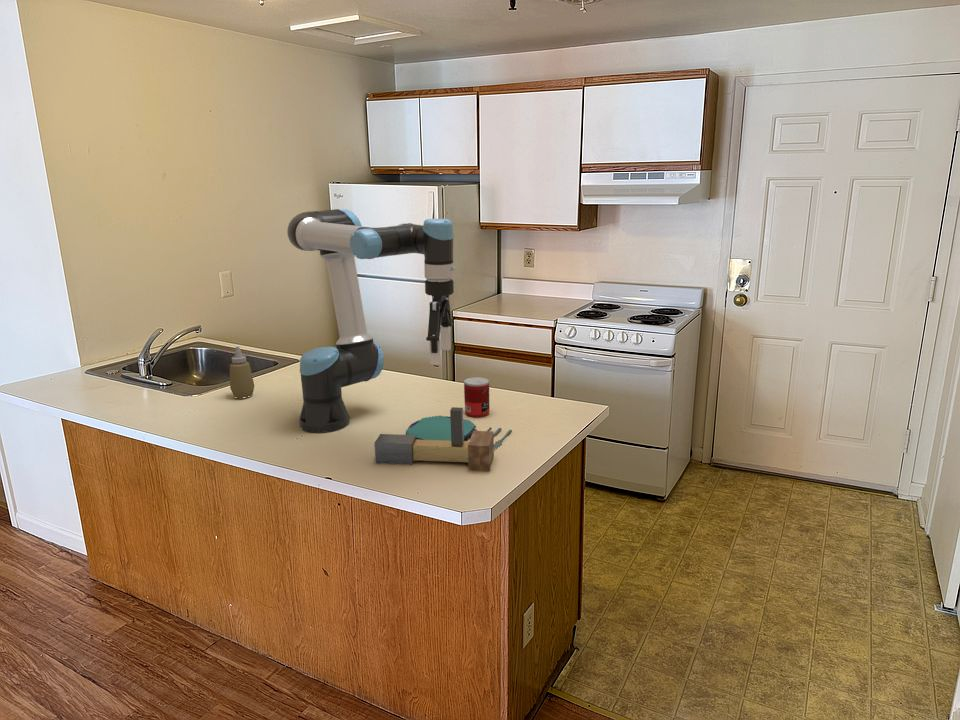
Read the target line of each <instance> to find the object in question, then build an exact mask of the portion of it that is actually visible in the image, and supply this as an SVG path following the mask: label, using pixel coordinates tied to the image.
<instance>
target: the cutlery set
mask: <svg viewBox="0 0 960 720" xmlns="http://www.w3.org/2000/svg"><path fill="white" fill-rule="evenodd" d="M463 425H464V440H465V439H467V438H469V437H471V436H472V433H473V431H475V428H477V426H476V424H475V423H474V422H472V421H471V420H469V419H464V418H463ZM491 429H492V427H491V426H490V427H489V428H488V429H487V430H486V431H491ZM501 431H502V428H501V427H498V428H497V429H496V430H495V432H494V437H495V436H497V434H499V432H501ZM512 431H513V430H512V429H508V431H507V432H506V433H505V434H504V436H503V437H502V438H501V439H498V441H496V440H495V442H494V452H495V451H496V450H497V449H498V447H499V448H500V447H501V446H502V445H503V443H502V442H504V441H505V440H506V439H505V438H506V437H507V436H508V437H509V436H510V434H511V432H512ZM405 435H416V440H445V441H451V419H450V416H446V415H433V416H425V417H422V418H420V419H418V420H416V421H415V422H412V423H411V424H410V425H409V426H408V428H406V431H405ZM508 437H507V438H508ZM504 439H505V440H504ZM503 440H504V441H503Z"/></svg>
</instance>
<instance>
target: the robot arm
mask: <svg viewBox="0 0 960 720" xmlns="http://www.w3.org/2000/svg"><path fill="white" fill-rule="evenodd" d="M287 238H288V240H289V242H290V243H291V245H292V246H293V247H295V249H298V250H300V251H304V252H305V251H307V252H315V251H319V256H320V258H322V259H324V261H326V266H327V272H328V278H329V283H330V288H331V289H330V290H331V294H332V299H333V300H332V301H333V306H334V311H335V318H336V323H337V328H338V336H339V338H338V340H337V341H336V342H335V345H336V347H335V346H323V347H321V346H319V347H315V348H312V349H310V350H307V351H305V352H304V353H303V354H302V355H301V357H300V360H299V374H300V380H301V381H300V382H301V389H302V399H303V402H302V406H301V411H300V414H299V422H298V423H299V427H301V428H302V429H303V430H302V429H301V428H300V429H301V430H302V431H305V430H306V431H305V432H308V431H310V433H328V432H335V431H338V430H341V429H344V428H345V427H347V426H349V424H350V414H349V412H348V410H347V409H348V408H347V406H346V404H345V402H344V399H343V394H342V388H345V387H349V386H352V385H355V384H358V383H363V382H369V381H370V380H373V379H376V378H377V377H378V376H380V374H381V373H382V371H383V369H384V365H385V359H384V358H385V356H384V352H383V349H382V348H381V346H380V345H379V344H378V343H377V342H375V341H374V338H373V336H372V335H370V334H369V333H368V329H367V325H366V319H365V314H364V307H363V306H364V305H363V302H362V296H361V289H360V284H359V279H358V277H359V276H358V272H357V265H356V261H355V260H356V259H355V258H357V259H358V260H374V259H376V258H378V259H379V258H384V257H385V258H386V257H391V256H393V257H394V256H401V255H407V254H408V255H409V254H419V255H423V256H424V260H423V261H424V262H423V263H424V266H423V267H424V278H425V280H424V293H425V294H426V295H427V296H431V297H432V301H429V312H428V313H429V314H428V325H427V326H428V328H427V337H425V340H426V341H427V342H429V364H430V365H435V366H437V365H441V363H442V361H441V360H442V359H441V358H442V356H441V355H442V354H441V353H442V351H451V347H452V346H451V327H453V326H454V322H452V321H453V319H452V314H451V313H452V312H451V305H450V296H451V295H453V294H454V288H455V286H454V285H455V283H454V280H453V278H454V271H456V269H457V268H456V266H454V229H453V222H452V221H451V220H450V219H449V218H448V219H447V218H427V219H425V220H424V221H423V225H422V224H421V225H420V224H415V223H411V222H408V223H405V222H403V223H400V224H398V225H391V226H382V227H369V226H368V227H367V226H363V225H362V223H361V221H360V219H359V217H358V216H357V215H356V214H355V212H353V211H352V210H349V209H339V208H337V209H336V208H335V209H326V210H315V211H314V210H313V211H312V210H311V211H305V212H301V213H298V214H296V215H294V217H293V218H292V219H290V222H289V223H288V226H287Z"/></svg>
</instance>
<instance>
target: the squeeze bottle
mask: <svg viewBox="0 0 960 720" xmlns="http://www.w3.org/2000/svg"><path fill="white" fill-rule="evenodd" d="M241 350H242V349H241V347H240V346H235V352H234V356H233V357H231V364H230V365H229V385H230V387H229V388H230V390H231V393H232V395H233V397H234V398H235V397H237V398H243V397H248V396H251V395H252V394H254V390H255V383H254V379H253V374H252V373H253V372H252V368H251V365H250V362H248V361H247V356H245V355H243V353H242V351H241ZM252 396H253V395H252ZM252 396H251V397H252ZM237 398H236V399H237Z"/></svg>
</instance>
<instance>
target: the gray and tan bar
mask: <svg viewBox="0 0 960 720" xmlns="http://www.w3.org/2000/svg"><path fill="white" fill-rule="evenodd" d="M449 411H450V412H449V413H450V416H449V417H450V419H451V441H445V440H414V442H413V444H412V460H414V461H426V462H429V461H430V462H449V463H451V462H452V463H453V462H454V463H455V462H456V463H468V444H469V441H470V440H469V441H468V440H467V441H466V440H465V439H464V425H463V419H464V407H457V406H456V407H453V406H451V408H450V410H449Z"/></svg>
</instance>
